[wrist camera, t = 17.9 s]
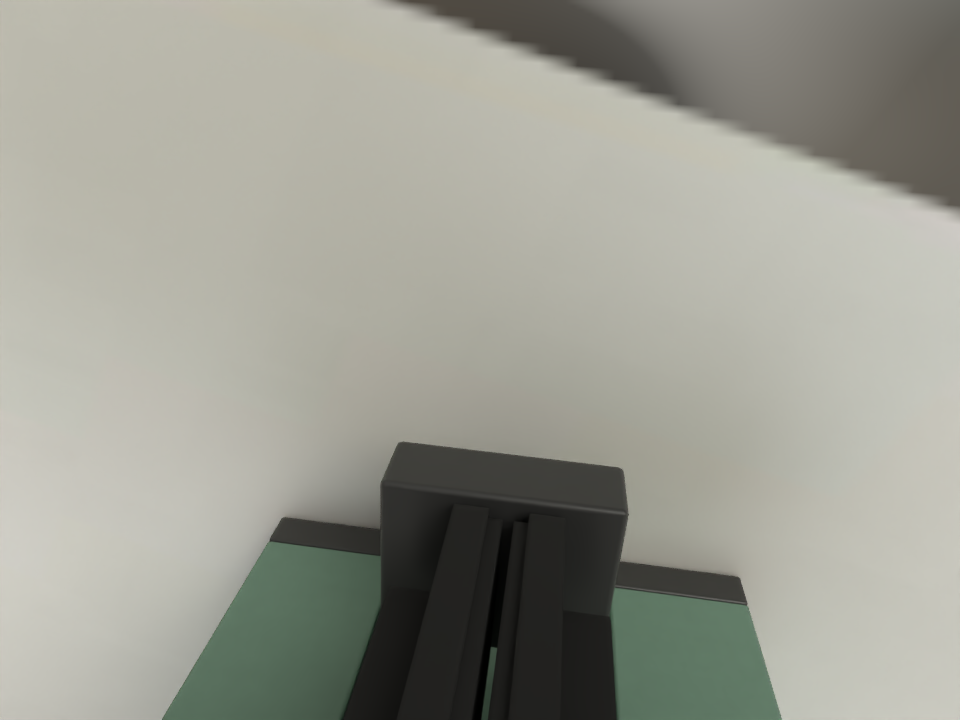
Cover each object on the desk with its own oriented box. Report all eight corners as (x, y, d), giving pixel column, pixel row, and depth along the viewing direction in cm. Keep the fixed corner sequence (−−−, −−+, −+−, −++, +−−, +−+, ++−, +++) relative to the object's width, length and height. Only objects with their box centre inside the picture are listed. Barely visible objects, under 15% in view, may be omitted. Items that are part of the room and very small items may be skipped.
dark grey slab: (398, 438, 11) (378, 481, 10) (624, 465, 11) (630, 513, 10) (395, 581, 13) (379, 633, 11) (598, 609, 12) (600, 666, 11)
